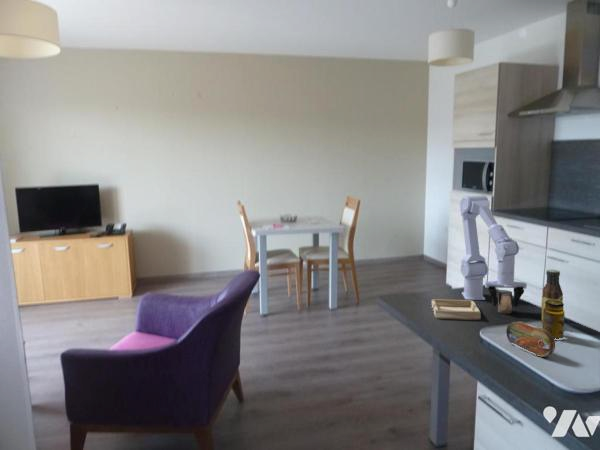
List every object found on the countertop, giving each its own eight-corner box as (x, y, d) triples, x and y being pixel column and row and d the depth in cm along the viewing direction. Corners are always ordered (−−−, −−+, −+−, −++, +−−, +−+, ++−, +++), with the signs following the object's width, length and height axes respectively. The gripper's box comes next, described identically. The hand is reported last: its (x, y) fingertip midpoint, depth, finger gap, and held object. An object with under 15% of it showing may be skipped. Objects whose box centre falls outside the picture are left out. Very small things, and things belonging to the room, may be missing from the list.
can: (496, 309, 168) (496, 289, 166) (509, 309, 167) (510, 290, 166) (499, 313, 163) (500, 293, 162) (512, 314, 162) (513, 293, 161)
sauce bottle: (564, 329, 146) (567, 273, 143) (544, 328, 147) (547, 273, 145) (557, 322, 153) (560, 268, 150) (538, 321, 154) (540, 268, 151)
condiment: (569, 339, 138) (571, 304, 136) (545, 342, 137) (547, 306, 135) (553, 331, 145) (555, 297, 143) (530, 333, 144) (532, 299, 142)
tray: (431, 306, 174) (431, 299, 173) (472, 307, 171) (472, 300, 170) (435, 318, 160) (435, 311, 160) (480, 320, 157) (480, 312, 157)
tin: (505, 343, 137) (506, 318, 136) (512, 341, 139) (512, 316, 137) (549, 362, 124) (550, 334, 123) (556, 359, 125) (557, 332, 124)
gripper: (488, 274, 160) (487, 308, 162) (529, 274, 157) (528, 309, 159) (483, 269, 167) (483, 302, 169) (523, 269, 164) (522, 303, 166)
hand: (504, 305), depth 165 cm, fingers open, 7 cm apart
